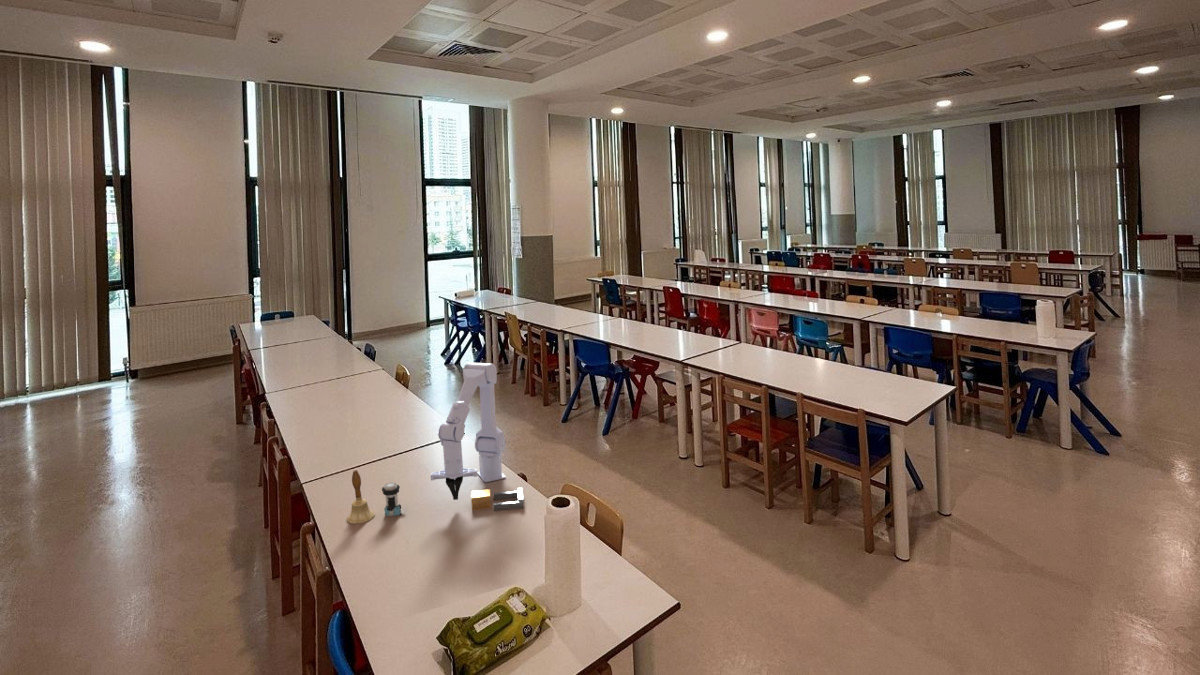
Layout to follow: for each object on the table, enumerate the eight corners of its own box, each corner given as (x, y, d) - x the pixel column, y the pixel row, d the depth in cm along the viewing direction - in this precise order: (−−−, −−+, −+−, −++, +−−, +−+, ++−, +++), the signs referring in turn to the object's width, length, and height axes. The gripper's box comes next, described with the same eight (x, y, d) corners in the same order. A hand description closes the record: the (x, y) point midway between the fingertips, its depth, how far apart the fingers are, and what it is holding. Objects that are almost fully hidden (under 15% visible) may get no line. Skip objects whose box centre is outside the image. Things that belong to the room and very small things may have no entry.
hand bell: (365, 525, 187) (360, 476, 184) (341, 523, 189) (335, 475, 186) (379, 512, 195) (375, 466, 192) (356, 510, 197) (351, 464, 194)
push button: (408, 509, 196) (405, 481, 195) (403, 517, 191) (400, 488, 189) (387, 510, 196) (384, 481, 195) (381, 518, 191) (379, 488, 189)
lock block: (472, 510, 195) (471, 497, 194) (472, 503, 200) (471, 491, 199) (490, 508, 196) (490, 495, 196) (490, 501, 201) (489, 489, 200)
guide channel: (493, 510, 195) (493, 502, 194) (493, 498, 203) (493, 490, 203) (523, 507, 196) (523, 499, 196) (522, 495, 205) (522, 487, 204)
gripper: (428, 465, 189) (431, 506, 191) (475, 461, 191) (478, 501, 194) (430, 457, 195) (433, 496, 198) (476, 453, 198) (478, 492, 200)
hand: (455, 498), depth 196 cm, fingers closed
